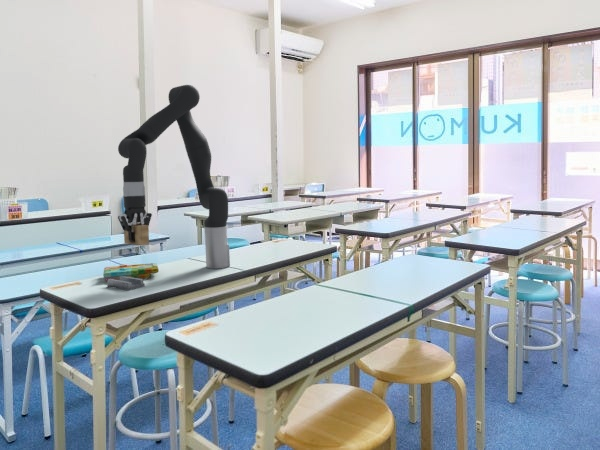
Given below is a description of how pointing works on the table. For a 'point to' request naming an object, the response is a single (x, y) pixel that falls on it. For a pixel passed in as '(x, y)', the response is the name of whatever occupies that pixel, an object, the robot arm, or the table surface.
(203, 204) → the robot arm
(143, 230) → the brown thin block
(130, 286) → the sill track
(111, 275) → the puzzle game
